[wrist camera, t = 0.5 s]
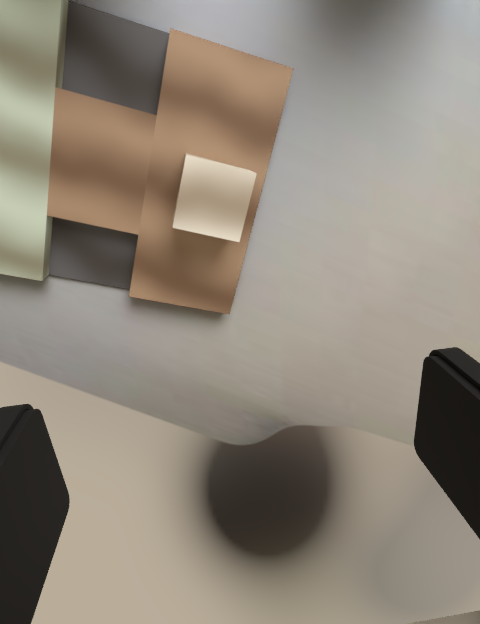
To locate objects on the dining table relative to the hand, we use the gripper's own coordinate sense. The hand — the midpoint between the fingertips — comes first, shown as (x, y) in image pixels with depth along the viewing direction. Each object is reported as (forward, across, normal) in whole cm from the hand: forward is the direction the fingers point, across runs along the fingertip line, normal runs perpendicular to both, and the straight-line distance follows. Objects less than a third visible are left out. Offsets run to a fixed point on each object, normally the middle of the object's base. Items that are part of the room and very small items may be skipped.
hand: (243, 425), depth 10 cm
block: (+25, -1, -3) cm, 25 cm away
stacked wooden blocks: (+27, +7, -6) cm, 29 cm away
